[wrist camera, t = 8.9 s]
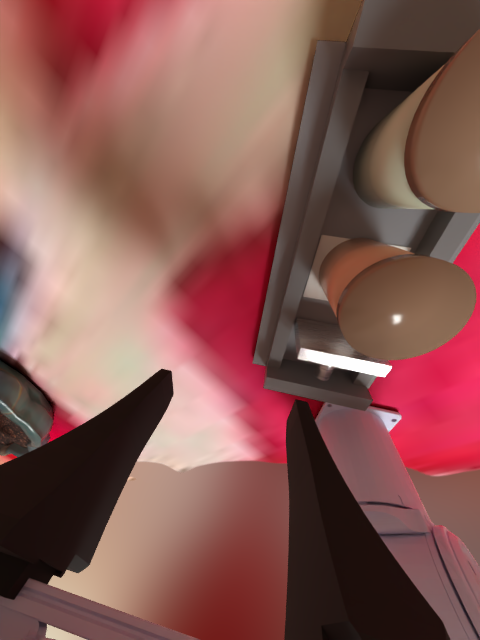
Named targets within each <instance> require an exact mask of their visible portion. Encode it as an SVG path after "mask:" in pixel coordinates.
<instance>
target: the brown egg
mask: <svg viewBox="0 0 480 640" xmlns="http://www.w3.org/2000/svg"><path fill="white" fill-rule="evenodd" d="M353 183H354V187H355V190H356V193H357V194H358V196H359V197H360V199H361V200H362V201H363V202H364V203H366V204H367V205H369V206H372V207H374V208H379V209H436V210H439V211H444V212H455V213H480V29H479V30H478V31H477V32H476V33H474V34H473V35H472V36H471V37H470V38H469V39H468V40H467V41H466V42H465V43H464V44H463V45H462V46H461V47H460V48H459V49H458V50H457V51H456V52H455V53H454V54H453V55H452V56H451V58H450V59H449V60H448V61H447V62H446V64H445V65H443V66H442V67H441V68H440V69H439V70H438V71H437V72H435V73H434V74H433V75H432V76H431V77H430V78H429V79H427V80H426V81H425V82H424V83H423V84H422V85H421V86H419V87H418V88H417V89H416V90H415V91H414V92H413V93H412V94H410V95H409V96H408V97H407V98H406V99H405V100H404V101H402V102H401V103H400V104H399V105H398V106H397V107H396V108H394V109H393V110H392V111H391V112H390V113H389V114H388V115H386V116H385V117H384V118H383V119H382V120H381V121H380V122H379V123H378V124H376V125H375V127H374V128H373V129H372V130H371V131H370V132H369V134H368V135H367V136H366V138H365V140H364V141H363V143H362V145H361V147H360V149H359V151H358V153H357V156H356V159H355V163H354V168H353Z"/></svg>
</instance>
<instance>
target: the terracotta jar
mask: <svg viewBox="0 0 480 640" xmlns="http://www.w3.org/2000/svg"><path fill="white" fill-rule="evenodd" d="M319 282H320V285H321V288H322V290H323V292H324V294H325V295H326V297H327V299H328V301H329V303H330V305H331V307H332V309H333V311H334V313H335V315H336V317H337V322H338V325H339V327H340V329H341V332H342V334H343V336H344V338H345V339H346V341H347V342H348V344H349V345H350V346H351V347H352V348H353V349H355V350H356V351H358V352H359V353H361V354H363V355H366V356H368V357H371V358H375V359H381V360H401V359H407V358H412V357H416V356H420V355H422V354H425V353H428V352H430V351H432V350H435V349H436V348H438V347H440V346H442V345H443V344H445V343H446V342H448V341H449V340H451V339H452V338H453V337H454V336H455V335H457V334H458V333H459V332H460V331H461V330H462V328H463V327H464V326H465V325H466V323H467V322H468V320H469V319H470V317H471V315H472V313H473V310H474V307H475V303H476V289H475V286H474V283H473V281H472V279H471V278H470V276H469V275H468V274H467V273H466V272H465V271H464V270H463V269H461V268H460V267H458V266H457V265H455V264H452V263H450V262H447V261H444V260H441V259H438V258H435V257H431V256H427V255H422V254H414V253H411V252H408V251H405V250H402V249H399V248H396V247H394V246H391V245H388V244H385V243H382V242H379V241H376V240H373V239H369V238H354V239H350V240H347V241H344V242H342V243H340V244H339V245H337V246H336V247H334V248H333V249H332V250H331V251H330V252H329V253H328V254H327V255H326V257H325V258H324V260H323V261H322V264H321V266H320V270H319Z"/></svg>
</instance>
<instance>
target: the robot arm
mask: <svg viewBox="0 0 480 640" xmlns="http://www.w3.org/2000/svg"><path fill="white" fill-rule="evenodd" d="M172 397H173V382H172V371H169V370H165V369H161V370H159V371H158V372H157V373H155V374H154V375H153V376H152V377H150V378H149V379H148V380H147V381H145V382H144V383H143V384H141V385H140V386H139V387H137V388H136V389H135V390H133V391H132V392H131V393H129V394H128V395H127V396H125V397H124V398H122V399H121V400H120V401H118V402H117V403H115V404H114V405H112V406H111V407H109V408H108V409H106V410H105V411H103V412H102V413H100V414H99V415H97V416H95V417H94V418H92V419H90V420H89V421H87V422H86V423H84V424H82V425H80V426H79V427H77V428H75V429H73V430H71V431H70V432H68V433H66V434H64V435H62V436H60V437H59V438H57V439H55V440H53V441H51V442H49V443H47V444H45V445H43V446H41V447H39V448H36V449H34V450H32V451H30V452H28V453H26V454H24V455H22V456H20V457H18V458H15V459H13V460H11V461H8V462H6V463H4V464H2V465H0V640H55V639H49V638H46V637H45V635H46V630H47V624H48V625H51V626H54V627H56V628H59V629H62V630H64V631H66V632H69V633H72V634H74V635H77V636H79V637H82V638H85V639H87V640H199V639H196V638H193V637H191V636H188V635H185V634H182V633H180V632H177V631H174V630H171V629H169V628H166V627H163V626H160V625H158V624H155V623H152V622H149V621H146V620H143V619H141V618H138V617H135V616H133V615H130V614H127V613H124V612H122V611H119V610H116V609H113V608H111V607H108V606H105V605H102V604H99V603H97V602H94V601H91V600H89V599H86V598H83V597H80V596H78V595H75V594H72V593H69V592H66V591H64V590H61V589H58V588H55V587H53V586H50V585H47V584H48V582H49V581H50V579H51V577H52V576H53V575H55V576H57V577H60V578H61V577H62V576H63V574H64V573H65V571H66V570H70V571H73V572H76V573H79V572H81V571H82V570H84V569H85V568H86V567H88V566H89V565H90V562H91V560H92V557H93V555H94V553H95V550H96V548H97V546H98V543H99V541H100V539H101V536H102V534H103V532H104V529H105V527H106V525H107V523H108V520H109V518H110V516H111V514H112V511H113V509H114V507H115V505H116V503H117V500H118V498H119V496H120V494H121V492H122V490H123V488H124V486H125V484H126V481H127V479H128V477H129V475H130V473H131V471H132V469H133V467H134V465H135V463H136V461H137V459H138V457H139V456H140V454H141V452H142V450H143V448H144V447H145V445H146V443H147V442H148V440H149V439H150V437H151V435H152V434H153V432H154V430H155V429H156V427H157V425H158V424H159V422H160V420H161V419H162V417H163V415H164V413H165V412H166V410H167V408H168V405H169V403H170V401H171V399H172ZM401 418H402V417H401V415H400V413H398V412H395V411H390V410H386V409H381V408H377V407H372V406H369V407H368V408H367V410H366V411H362V410H358V409H353V408H349V407H344V406H340V405H335V404H331V403H327V402H324V404H323V406H322V408H321V410H320V412H319V414H318V416H317V417H316V419H315V420H314V417H313V415H312V412H311V410H310V407H309V405H308V403H307V402H305V401H300V400H295V402H294V405H293V407H292V410H291V412H290V415H289V417H288V419H287V426H286V451H287V466H288V480H289V555H288V582H287V603H286V622H285V640H480V567H479V565H478V564H477V562H476V561H475V559H474V557H473V556H472V554H471V553H470V551H469V550H468V549H467V547H466V546H465V544H464V543H463V542H462V541H461V540H460V539H459V538H458V537H457V536H456V535H454V534H453V533H451V532H450V531H449V530H448V529H447V528H445V527H444V526H442V525H436V526H435V525H434V523H433V522H432V521H431V520H430V518H429V516H428V514H427V512H426V510H425V508H424V506H423V503H422V501H421V499H420V497H419V495H418V493H417V491H416V489H415V487H414V484H413V482H412V480H411V478H410V476H409V474H408V472H407V470H406V468H405V466H404V464H403V461H402V459H401V457H400V455H399V453H398V451H397V449H396V447H395V445H394V443H393V440H392V438H391V436H390V434H389V431H390V430H391V429H392V428H393V427H394V426H395V425H396V424H397V422H398V421H399V420H400V419H401Z"/></svg>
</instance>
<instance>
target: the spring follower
mask: <svg viewBox="0 0 480 640" xmlns="http://www.w3.org/2000/svg"><path fill="white" fill-rule="evenodd" d="M294 333H295V342H296V352H297V359H300V360H305V361H310V362H315V363H316V366H315V368H314V370H313V374H314V376H315V377H316V378H318V379H320V380H323V381H327V380H329V378H330V376H331V374H332V372H333V370H334V368H335V367H338V368H343V369H348V370H353V371H358V372H362V373H367V374H372V375H377V376H382V377H385V376H386V375H387V373H388V372H389V371H390V369H391V368H392V365H391V364H390V363H389V361H388V360H381V359H375V358H371V357H368V356H366V355H363V354H361V353H359V352H358V351H356V350H355V349H353V348H352V347H351V346H350V345H349V344H348V342H347V341H346V339H345V338H344V336H343V334H342V332H341V329H340V327H339V326H338V325H333V324H328V323H323V322H317V321H312V320H307V319H301V318H297V319H296V322H295V325H294Z"/></svg>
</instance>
